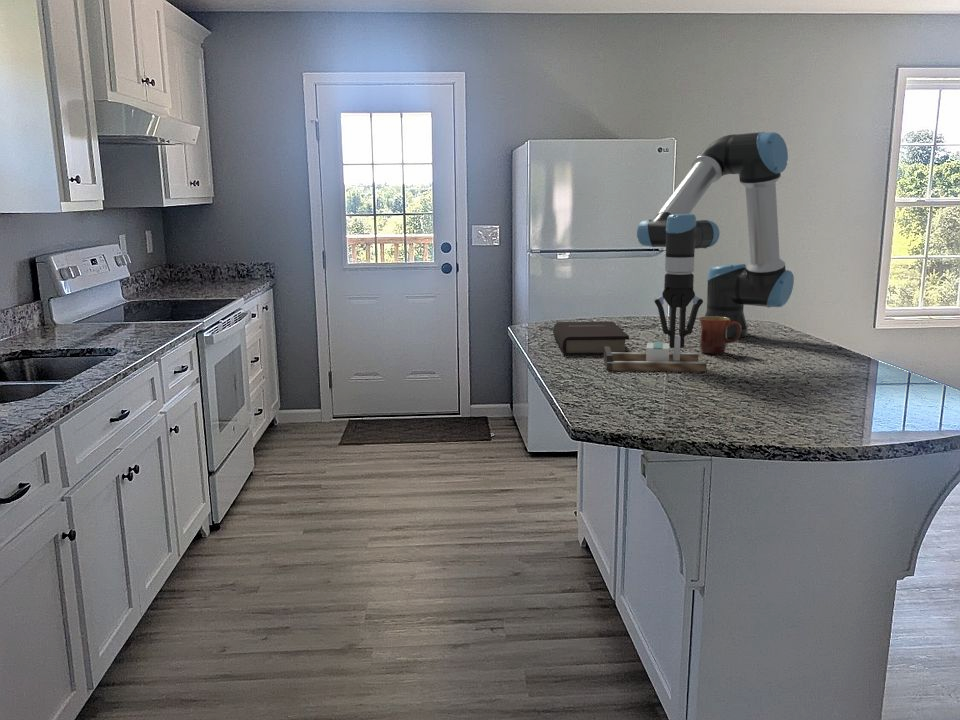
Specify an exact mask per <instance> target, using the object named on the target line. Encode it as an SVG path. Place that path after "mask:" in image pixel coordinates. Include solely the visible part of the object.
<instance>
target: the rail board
mask: <svg viewBox="0 0 960 720" xmlns="http://www.w3.org/2000/svg"><path fill="white" fill-rule="evenodd" d="M603 363H604V366H605V370H606V371H623V372H624V371H627V372H628V371H633V372H634V371H636V372H638V371H639V372H640V371H641V372H642V371H644V372H645V371H647V372H648V371H649V372H653V371H654V372H655V371H657V372H660V371H661V372H662V371H663V372H664V371H665V372H707V363H708V362H707V361H699V352H680V361H674V360H673V352H669V361H646V351H645V352H629V351H627V352H611V350H610V347H609V346H604V355H603Z"/></svg>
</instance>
